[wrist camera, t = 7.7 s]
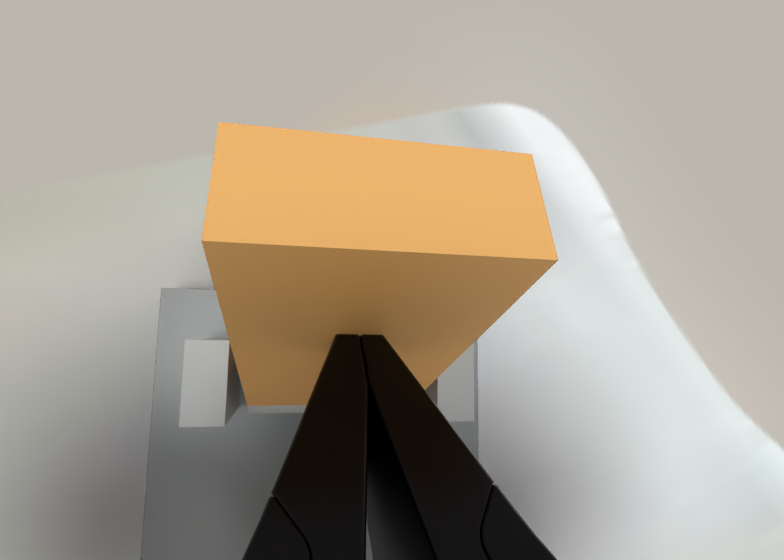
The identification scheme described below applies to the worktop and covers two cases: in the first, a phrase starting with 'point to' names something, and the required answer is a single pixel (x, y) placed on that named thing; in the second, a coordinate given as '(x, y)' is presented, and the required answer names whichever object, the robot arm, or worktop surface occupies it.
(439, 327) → the orange lever
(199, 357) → the switch panel
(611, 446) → the worktop surface
